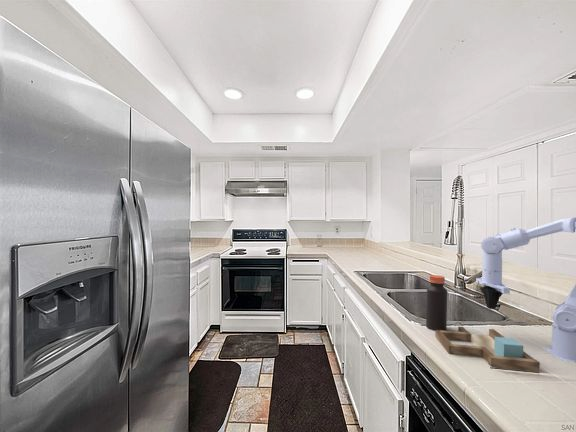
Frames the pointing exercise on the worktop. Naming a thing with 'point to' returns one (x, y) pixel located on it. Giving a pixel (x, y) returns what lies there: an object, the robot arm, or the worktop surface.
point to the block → (508, 347)
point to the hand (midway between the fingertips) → (491, 308)
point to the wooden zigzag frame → (484, 349)
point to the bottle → (436, 304)
